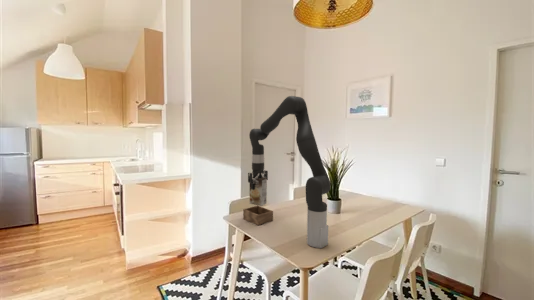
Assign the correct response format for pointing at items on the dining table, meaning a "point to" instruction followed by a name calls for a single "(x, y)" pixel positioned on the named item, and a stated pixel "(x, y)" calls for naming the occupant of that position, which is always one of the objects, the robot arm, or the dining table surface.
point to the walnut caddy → (258, 215)
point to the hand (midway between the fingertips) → (258, 188)
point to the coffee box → (259, 192)
